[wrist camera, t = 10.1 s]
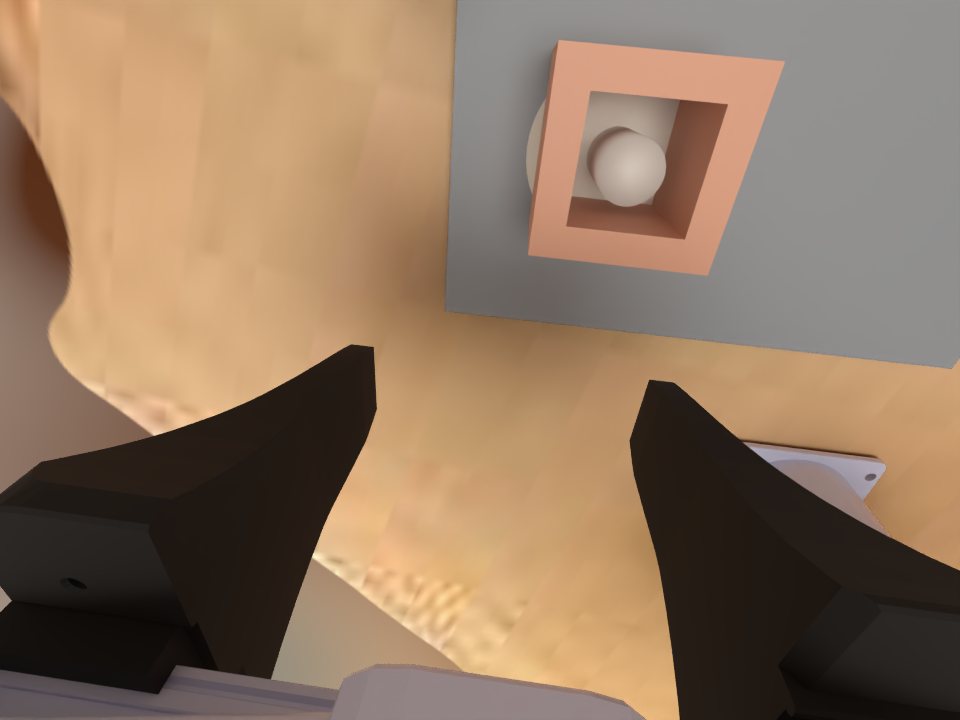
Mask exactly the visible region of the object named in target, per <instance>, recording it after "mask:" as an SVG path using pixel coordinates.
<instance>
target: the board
mask: <svg viewBox="0 0 960 720" xmlns="http://www.w3.org/2000/svg"><path fill="white" fill-rule="evenodd" d="M558 40H565V41H575V42H586V43H596V44H607V45H617V46H628V47H638V48H649V49H660V50H670V51H681V52H691V53H702V54H712V55H723V56H733V57H744V58H754V59H765V60H776V61H785V64H784V66H783V69H782V72H781V75H780V77H779V80H778V83H777V86H776V88H775V91H774V94H773V97H772V99H771V102H770V105H769V108H768V111H767V113H766V116H765V119H764V122H763V124H762V127H761V130H760V133H759V135H758V138H757V141H756V144H755V146H754V149H753V152H752V155H751V158H750V160H749V163H748V166H747V169H746V171H745V174H744V177H743V180H742V182H741V185H740V188H739V191H738V193H737V196H736V199H735V202H734V205H733V207H732V210H731V213H730V216H729V218H728V221H727V224H726V227H725V229H724V232H723V235H722V238H721V240H720V243H719V246H718V249H717V251H716V254H715V257H714V260H713V263H712V265H711V268H710V271H709V274H708V276H706V275H697V274H688V273H680V272H671V271H662V270H653V269H645V268H636V267H627V266H619V265H610V264H601V263H592V262H584V261H575V260H566V259H558V258H549V257H540V256H531V255H528V239H529V216H530V209H531V202H532V195H533V188H534V180H535V173H536V166H537V159H538V151H539V144H540V137H541V130H542V123H543V115H544V108H545V101H546V94H547V86H548V79H549V72H550V65H551V58H552V50H553V49H554V47H555V45H556V44H557V42H558ZM679 103H680V99H670V98H660V97H650V96H640V95H630V94H620V93H610V92H600V91H591V92H590V97H589V103H588V108H587V114H586V119H585V125H584V130H583V136H582V141H581V147H580V152H579V158H578V163H577V169H576V174H575V180H574V185H573V191H572V196H575V197H584V198H593V199H602V200H608V201H610V202H611V203H613V204H615V205H618V206H626V207H628V206H635V205H638V204H648V205H652V202H653V198H654V195H655V193H656V192H657V190H658V189H659V187H660V186H661V184H662V182H663V179H664V176H665V172H666V160H665V154H666V150H667V147H668V143H669V139H670V136H671V132H672V128H673V125H674V121H675V117H676V114H677V110H678V106H679ZM445 311H448V312H456V313H465V314H474V315H483V316H492V317H500V318H509V319H518V320H527V321H535V322H544V323H553V324H562V325H571V326H579V327H588V328H597V329H606V330H614V331H623V332H632V333H641V334H650V335H658V336H667V337H676V338H685V339H693V340H702V341H711V342H720V343H729V344H737V345H746V346H755V347H764V348H772V349H781V350H790V351H799V352H808V353H816V354H825V355H834V356H843V357H851V358H860V359H869V360H878V361H887V362H895V363H904V364H913V365H922V366H930V367H939V368H948V369H952V368H953V367H954V365H955V364H956V362H957V361H958V360H959V358H960V0H457V22H456V46H455V71H454V96H453V120H452V145H451V169H450V194H449V219H448V243H447V268H446V293H445Z"/></svg>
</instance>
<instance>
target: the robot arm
mask: <svg viewBox="0 0 960 720" xmlns="http://www.w3.org/2000/svg"><path fill="white" fill-rule="evenodd" d="M376 410H377V404H376V384H375V364H374V347H368V346H360V345H349V346H347V347H345V348H343V349H342V350H340V351H338V352H337V353H335V354H333V355H332V356H330V357H328V358H327V359H325V360H323V361H322V362H320V363H318V364H317V365H315V366H313V367H312V368H310V369H308V370H307V371H305V372H303V373H302V374H300V375H298V376H297V377H295V378H293V379H291V380H289V381H287V382H285V383H284V384H282V385H280V386H278V387H276V388H274V389H272V390H271V391H269V392H267V393H265V394H263V395H261V396H259V397H257V398H255V399H253V400H251V401H248V402H246V403H244V404H242V405H239V406H237V407H235V408H232V409H230V410H228V411H225V412H223V413H220V414H218V415H215V416H213V417H210V418H207V419H204V420H201V421H198V422H196V423H193V424H190V425H187V426H184V427H181V428H178V429H176V430H172V431H169V432H166V433H163V434H159V435H156V436H152V437H149V438H146V439H142V440H138V441H134V442H130V443H127V444H123V445H119V446H115V447H111V448H106V449H102V450H97V451H93V452H88V453H83V454H78V455H73V456H69V457H64V458H59V459H54V460H49V461H44V462H41V463H39V464H38V465H37V466H35V467H34V468H33V469H31V470H30V471H29V472H28V473H26V474H25V475H24V476H22V477H21V478H20V479H19V480H18V481H16V482H15V483H13V484H12V485H11V486H10V487H8V488H7V489H6V490H5V491H3V492H2V493H1V494H0V586H1V588H2V589H3V590H4V591H5V593H6V594H7V595H8V596H9V598H10V599H11V600H12V601H11V602H10V603H9V604H8V605H7V606H6V607H5V608H4V609H3V610H2V611H1V612H0V720H646V719H645V718H644V717H643V716H641V715H640V714H639V713H638V712H636V711H635V710H634V709H633V708H631V707H630V706H629V705H628V704H626V703H625V702H624V701H622V700H618V699H615V698H612V697H608V696H605V695H601V694H598V693H594V692H591V691H587V690H580V689H573V688H567V687H560V686H553V685H547V684H540V683H533V682H527V681H520V680H513V679H507V678H500V677H493V676H487V675H480V674H473V673H467V672H460V671H453V670H446V669H440V668H433V667H426V666H420V665H413V664H376V665H373V666H370V667H368V668H365V669H363V670H360V671H357V672H355V673H353V674H351V675H349V676H347V677H346V678H344V680H343V682H342V684H341V687H340V689H339V690H336V689H329V688H323V687H316V686H309V685H303V684H297V683H290V682H284V681H277V680H271V677H272V674H273V671H274V667H275V664H276V661H277V658H278V655H279V651H280V648H281V645H282V642H283V639H284V636H285V633H286V630H287V627H288V624H289V621H290V618H291V615H292V612H293V609H294V606H295V603H296V600H297V597H298V594H299V591H300V588H301V586H302V582H303V580H304V577H305V575H306V572H307V569H308V566H309V563H310V560H311V558H312V555H313V553H314V550H315V547H316V545H317V542H318V540H319V537H320V534H321V532H322V529H323V526H324V524H325V522H326V520H327V517H328V515H329V513H330V511H331V509H332V507H333V505H334V503H335V501H336V499H337V497H338V495H339V493H340V491H341V489H342V487H343V485H344V483H345V481H346V479H347V477H348V475H349V473H350V472H351V470H352V468H353V466H354V464H355V462H356V460H357V458H358V456H359V454H360V452H361V450H362V448H363V446H364V444H365V442H366V439H367V436H368V434H369V431H370V428H371V425H372V422H373V419H374V416H375V413H376ZM630 448H631V457H632V465H633V472H634V477H635V481H636V485H637V488H638V492H639V496H640V499H641V503H642V506H643V510H644V513H645V517H646V520H647V524H648V528H649V531H650V535H651V538H652V542H653V545H654V549H655V552H656V557H657V561H658V565H659V569H660V575H661V581H662V587H663V593H664V599H665V605H666V611H667V618H668V625H669V632H670V639H671V646H672V654H673V662H674V670H675V679H676V687H677V696H678V705H679V716H680V720H960V571H959V570H957V569H955V568H952V567H950V566H948V565H946V564H944V563H941V562H939V561H937V560H935V559H932V558H930V557H928V556H926V555H924V554H922V553H920V552H918V551H916V550H914V549H912V548H910V547H908V546H906V545H904V544H902V543H900V542H898V541H896V540H894V539H892V537H891V536H890V535H889V534H888V532H887V531H886V530H885V528H884V527H883V526H882V525H881V523H880V522H879V521H878V520H877V518H876V517H875V516H874V514H873V513H872V512H871V511H870V509H869V508H868V507H867V506H866V504H865V503H864V502H863V500H864V499H865V497H866V496H867V495H868V493H869V492H870V491H871V489H872V488H873V486H874V485H875V484H876V482H877V481H878V480H879V478H880V477H881V476H882V474H883V473H884V472H885V470H886V465H885V464H884V463H883V462H882V461H881V460H880V459H877V458H870V457H862V456H854V455H845V454H837V453H829V452H821V451H813V450H805V449H797V448H789V447H781V446H772V445H764V444H756V443H748V442H742V441H741V440H739V439H738V438H737V437H736V436H735V435H733V434H732V433H731V432H730V431H729V430H727V429H726V428H725V427H724V426H723V425H722V424H721V423H719V422H718V421H717V420H716V419H715V418H714V417H713V416H712V415H710V414H709V413H708V412H707V411H706V410H705V409H704V408H703V407H702V406H700V405H699V404H698V403H697V402H696V401H695V400H694V399H693V398H691V397H690V396H689V395H688V394H687V393H686V392H685V391H683V390H682V389H681V388H680V387H679V386H677V385H676V384H675V383H672V382H664V381H656V380H649V382H648V385H647V389H646V392H645V395H644V398H643V401H642V404H641V407H640V410H639V413H638V416H637V419H636V422H635V426H634V429H633V432H632V435H631V438H630Z"/></svg>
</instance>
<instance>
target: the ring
mask: <svg viewBox="0 0 960 720" xmlns="http://www.w3.org/2000/svg"><path fill="white" fill-rule="evenodd" d="M784 64H785V61H776V60H765V59H754V58H744V57H733V56H723V55H712V54H702V53H691V52H681V51H670V50H660V49H649V48H638V47H628V46H617V45H607V44H596V43H586V42H575V41H565V40H558V42H557V44H556V45H555V47H554V49H553V50H552V58H551V65H550V72H549V79H548V86H547V94H546V101H545V108H544V115H543V123H542V130H541V137H540V144H539V151H538V159H537V166H536V173H535V180H534V188H533V195H532V202H531V209H530V216H529V239H528V255H531V256H540V257H549V258H558V259H566V260H575V261H584V262H592V263H601V264H610V265H619V266H627V267H636V268H645V269H653V270H662V271H671V272H680V273H688V274H697V275H706V276H708V274H709V271H710V268H711V265H712V263H713V260H714V257H715V254H716V251H717V249H718V246H719V243H720V240H721V238H722V235H723V232H724V229H725V227H726V224H727V221H728V218H729V216H730V213H731V210H732V207H733V205H734V202H735V199H736V196H737V193H738V191H739V188H740V185H741V182H742V180H743V177H744V174H745V171H746V169H747V166H748V163H749V160H750V158H751V155H752V152H753V149H754V146H755V144H756V141H757V138H758V135H759V133H760V130H761V127H762V124H763V122H764V119H765V116H766V113H767V111H768V108H769V105H770V102H771V99H772V97H773V94H774V91H775V88H776V86H777V83H778V80H779V77H780V75H781V72H782V69H783V66H784ZM591 91H600V92H610V93H620V94H630V95H640V96H650V97H660V98H670V99H680V103H679V106H678V110H677V114H676V117H675V121H674V125H673V128H672V132H671V136H670V139H669V143H668V147H667V150H666V154H665V160H666V172H665V176H664V179H663V182H662V184H661V186H660V187H659V189H658V190H657V192H656V193H655V195H654V198H653V202H652V205H648V204H638V205H635V206H628V207H626V206H618V205H615V204H613V203H611V202H610V201H608V200H602V199H593V198H584V197H575V196H572V191H573V185H574V180H575V174H576V169H577V163H578V158H579V152H580V147H581V141H582V136H583V130H584V125H585V119H586V114H587V108H588V103H589V97H590V92H591Z"/></svg>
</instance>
